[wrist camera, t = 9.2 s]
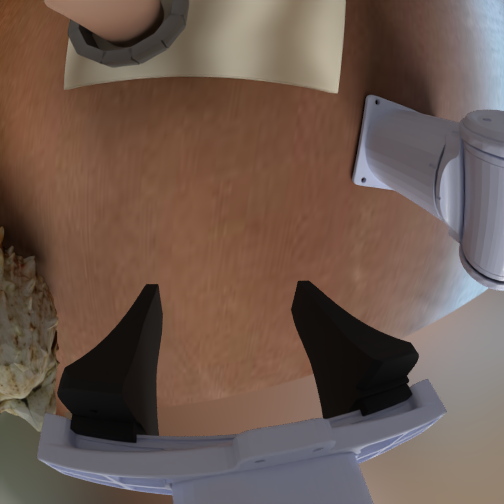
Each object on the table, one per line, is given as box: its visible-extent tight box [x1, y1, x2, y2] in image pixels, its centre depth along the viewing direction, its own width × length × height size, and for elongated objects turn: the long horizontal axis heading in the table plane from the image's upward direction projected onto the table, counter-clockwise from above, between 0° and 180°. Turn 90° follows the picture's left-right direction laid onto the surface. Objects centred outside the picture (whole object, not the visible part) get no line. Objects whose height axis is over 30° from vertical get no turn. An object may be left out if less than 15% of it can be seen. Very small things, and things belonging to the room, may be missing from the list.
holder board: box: [64, 0, 346, 93], centre depth 12 cm, size 20×10×4 cm, turn 85°
